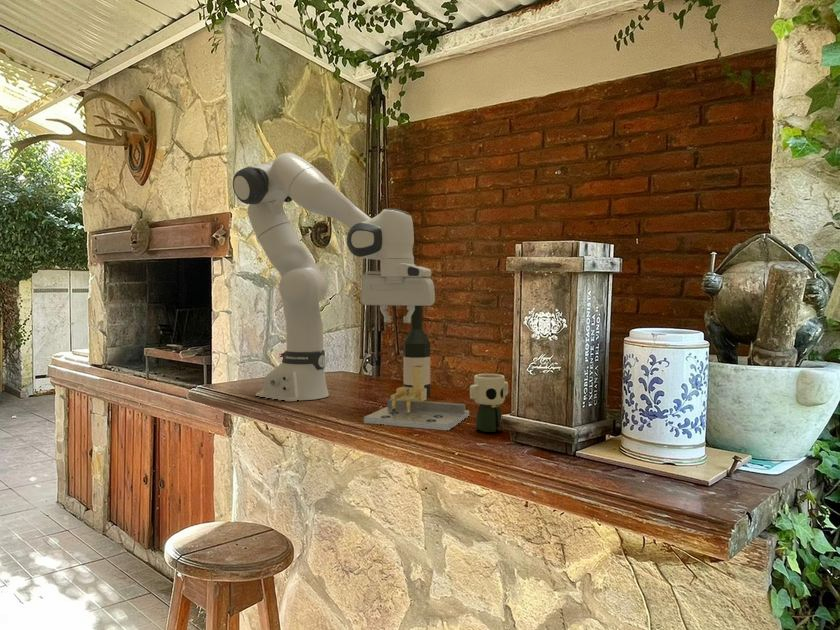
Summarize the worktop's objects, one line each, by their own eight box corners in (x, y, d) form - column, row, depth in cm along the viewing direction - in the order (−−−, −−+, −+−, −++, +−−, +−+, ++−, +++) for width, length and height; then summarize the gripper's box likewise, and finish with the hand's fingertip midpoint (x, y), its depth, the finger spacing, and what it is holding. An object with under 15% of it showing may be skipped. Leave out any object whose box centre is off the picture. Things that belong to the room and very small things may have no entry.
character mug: (479, 437, 135) (479, 379, 134) (461, 430, 141) (461, 375, 140) (517, 431, 140) (517, 375, 140) (498, 425, 146) (498, 372, 146)
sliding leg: (402, 412, 152) (401, 369, 152) (416, 405, 161) (416, 365, 161) (413, 413, 151) (413, 370, 150) (426, 406, 160) (426, 365, 159)
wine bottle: (435, 397, 184) (435, 299, 182) (413, 400, 179) (412, 299, 178) (420, 393, 190) (420, 298, 189) (398, 396, 186) (397, 298, 184)
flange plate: (364, 423, 149) (363, 395, 149) (391, 410, 165) (391, 385, 164) (448, 430, 141) (448, 401, 141) (469, 416, 157) (469, 390, 156)
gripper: (356, 270, 160) (356, 322, 161) (428, 269, 153) (428, 324, 153) (367, 271, 166) (367, 321, 167) (437, 270, 158) (437, 322, 159)
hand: (397, 322), depth 160 cm, fingers open, 4 cm apart
